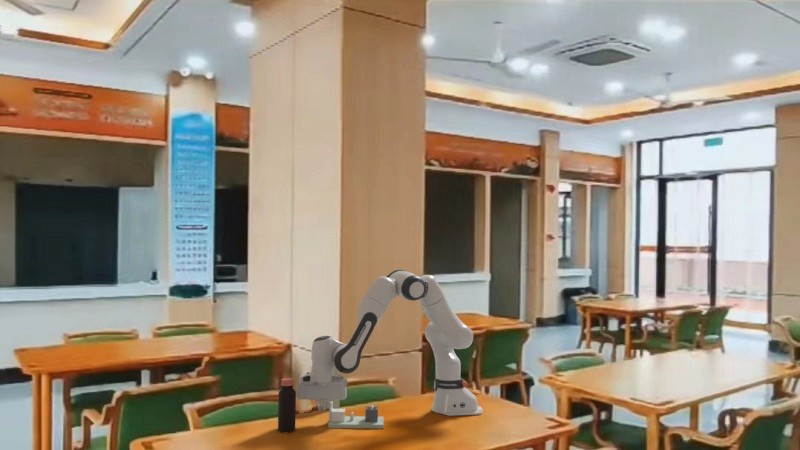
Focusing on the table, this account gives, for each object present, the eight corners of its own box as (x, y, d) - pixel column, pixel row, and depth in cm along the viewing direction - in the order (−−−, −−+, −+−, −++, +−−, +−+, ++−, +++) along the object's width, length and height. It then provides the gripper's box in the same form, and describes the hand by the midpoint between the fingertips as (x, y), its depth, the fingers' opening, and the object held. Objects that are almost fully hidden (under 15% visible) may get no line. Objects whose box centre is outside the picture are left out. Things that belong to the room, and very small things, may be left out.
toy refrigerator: (341, 408, 295) (342, 360, 296) (325, 409, 293) (326, 361, 293) (336, 403, 303) (337, 357, 303) (320, 405, 300) (321, 358, 300)
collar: (377, 418, 273) (378, 406, 273) (377, 422, 268) (377, 409, 268) (365, 418, 273) (365, 406, 273) (365, 422, 268) (365, 409, 268)
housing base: (383, 420, 277) (384, 402, 277) (383, 428, 265) (383, 409, 265) (331, 419, 277) (331, 401, 277) (328, 427, 265) (328, 409, 265)
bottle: (276, 428, 262) (277, 378, 263) (293, 427, 265) (294, 377, 265) (279, 433, 256) (280, 381, 256) (296, 432, 259) (297, 380, 259)
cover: (345, 418, 273) (345, 401, 273) (344, 421, 268) (344, 404, 268) (330, 418, 273) (330, 401, 273) (329, 421, 268) (329, 404, 268)
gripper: (347, 374, 274) (347, 408, 274) (298, 374, 274) (298, 407, 274) (346, 378, 268) (346, 412, 268) (296, 377, 268) (295, 412, 268)
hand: (321, 410), depth 271 cm, fingers closed
